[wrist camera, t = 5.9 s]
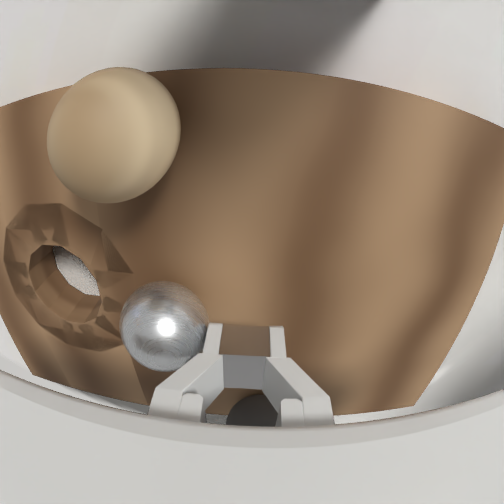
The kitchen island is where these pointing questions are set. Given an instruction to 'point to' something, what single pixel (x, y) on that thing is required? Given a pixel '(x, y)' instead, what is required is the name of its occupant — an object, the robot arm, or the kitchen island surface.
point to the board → (264, 233)
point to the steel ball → (163, 325)
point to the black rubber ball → (253, 412)
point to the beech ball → (113, 135)
